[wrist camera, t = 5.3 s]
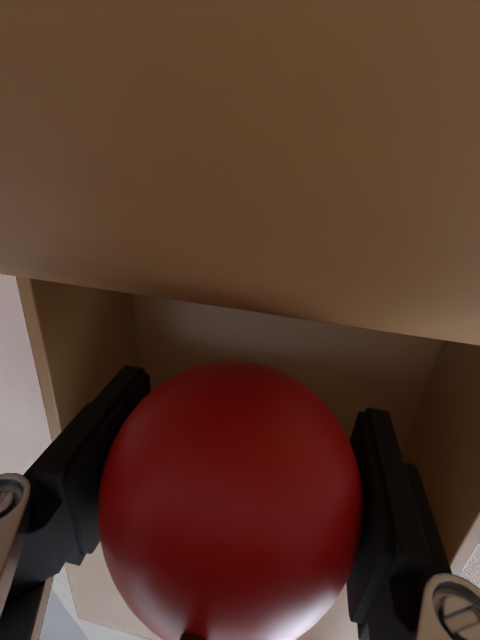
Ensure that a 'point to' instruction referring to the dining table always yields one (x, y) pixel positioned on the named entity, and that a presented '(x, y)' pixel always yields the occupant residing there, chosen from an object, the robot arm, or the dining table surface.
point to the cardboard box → (282, 354)
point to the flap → (249, 155)
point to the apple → (230, 506)
